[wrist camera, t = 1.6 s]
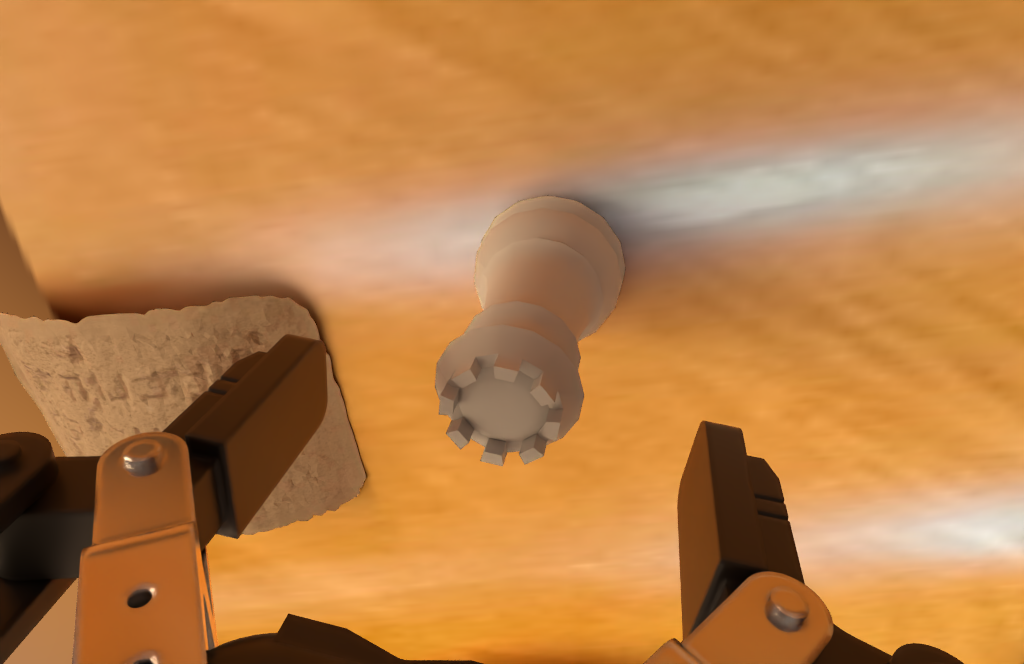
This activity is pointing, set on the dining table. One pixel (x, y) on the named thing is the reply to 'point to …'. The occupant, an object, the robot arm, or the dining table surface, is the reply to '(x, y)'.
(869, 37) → the dining table surface
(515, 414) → the rook chess piece
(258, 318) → the clay tablet
